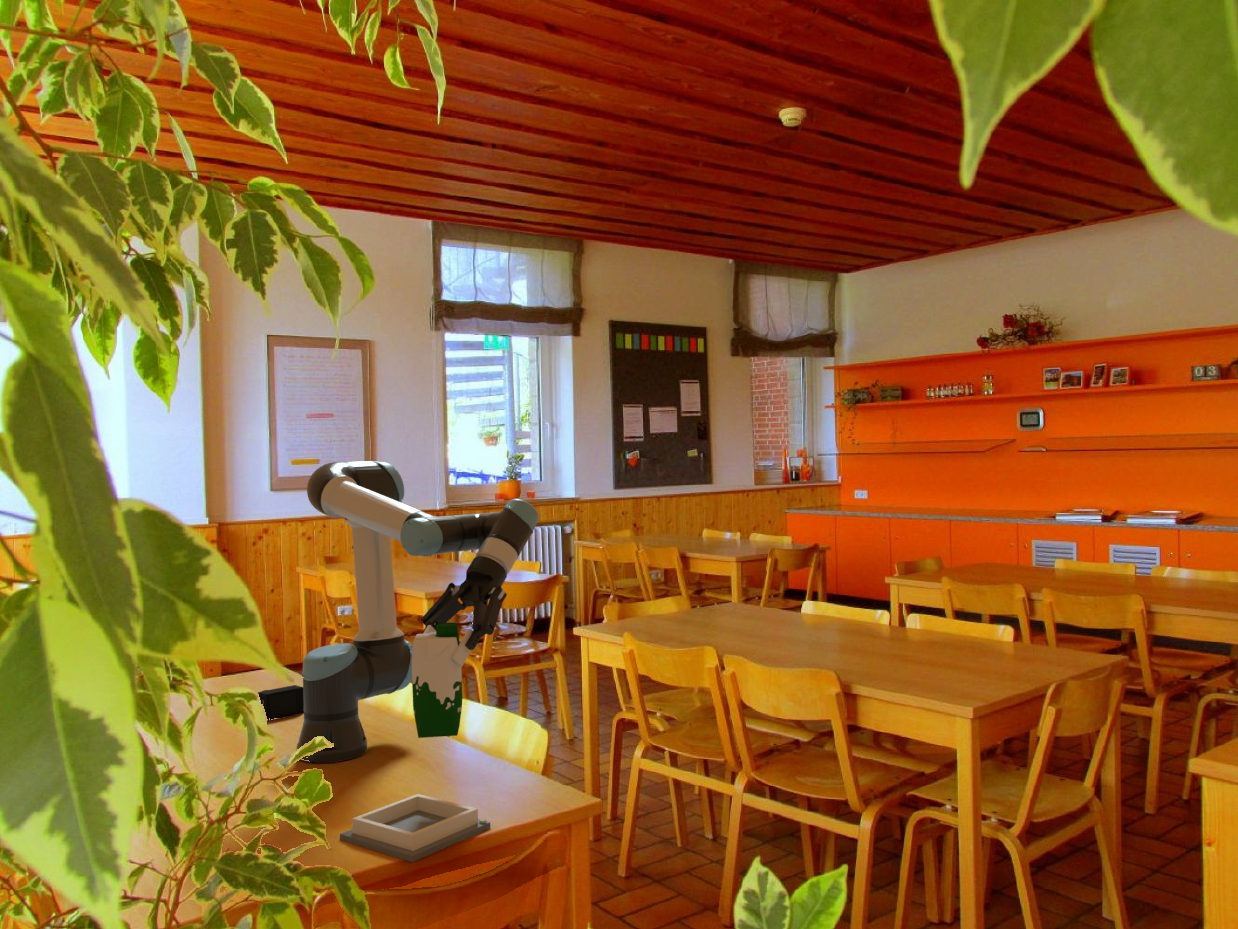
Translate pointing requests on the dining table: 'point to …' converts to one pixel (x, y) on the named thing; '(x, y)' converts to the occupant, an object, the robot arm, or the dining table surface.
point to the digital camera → (283, 701)
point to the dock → (415, 827)
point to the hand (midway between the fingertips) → (436, 659)
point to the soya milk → (437, 682)
